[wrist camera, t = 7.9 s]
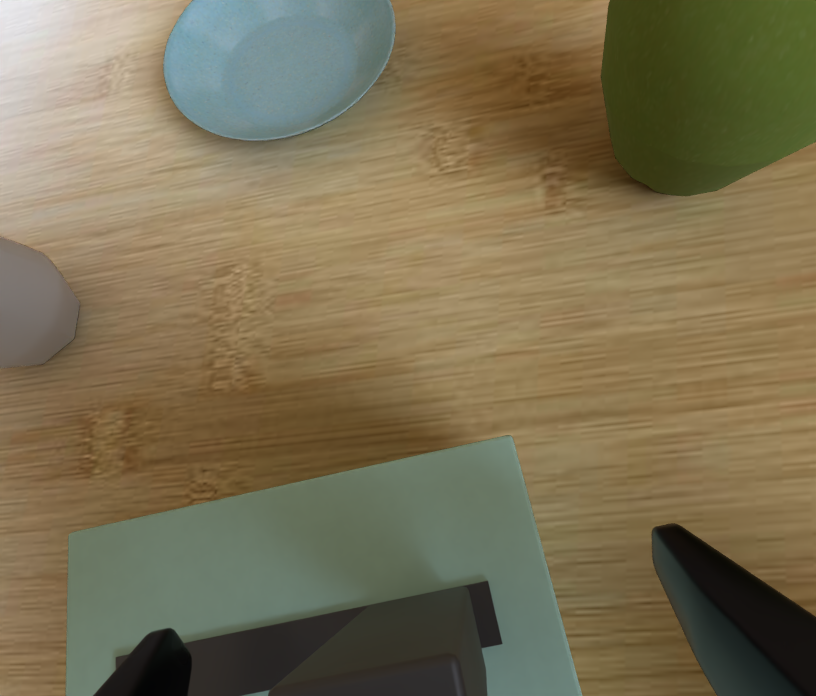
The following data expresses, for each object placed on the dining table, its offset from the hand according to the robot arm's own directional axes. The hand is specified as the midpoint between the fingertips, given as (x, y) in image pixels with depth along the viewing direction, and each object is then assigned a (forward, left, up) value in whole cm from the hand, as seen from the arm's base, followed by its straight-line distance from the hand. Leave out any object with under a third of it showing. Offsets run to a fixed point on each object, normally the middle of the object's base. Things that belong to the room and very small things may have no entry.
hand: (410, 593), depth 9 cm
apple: (+14, -13, -10) cm, 22 cm away
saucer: (+25, +3, -10) cm, 27 cm away
